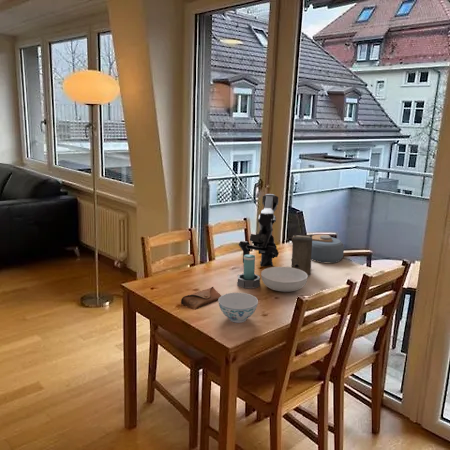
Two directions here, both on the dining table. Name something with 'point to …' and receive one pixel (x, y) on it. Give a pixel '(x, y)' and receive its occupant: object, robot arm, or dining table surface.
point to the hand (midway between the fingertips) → (252, 264)
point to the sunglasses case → (200, 298)
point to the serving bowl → (284, 278)
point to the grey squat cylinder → (326, 248)
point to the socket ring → (248, 282)
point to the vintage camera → (302, 253)
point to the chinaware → (238, 306)
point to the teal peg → (249, 267)
